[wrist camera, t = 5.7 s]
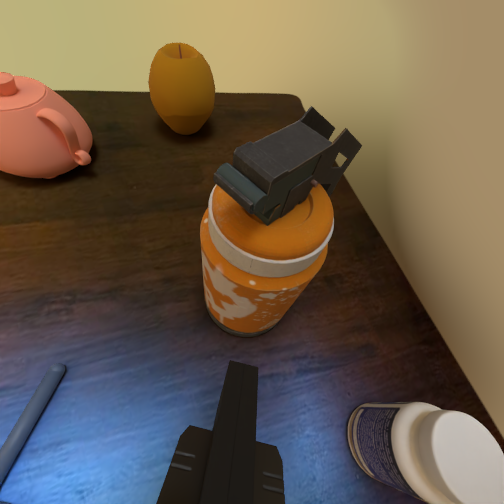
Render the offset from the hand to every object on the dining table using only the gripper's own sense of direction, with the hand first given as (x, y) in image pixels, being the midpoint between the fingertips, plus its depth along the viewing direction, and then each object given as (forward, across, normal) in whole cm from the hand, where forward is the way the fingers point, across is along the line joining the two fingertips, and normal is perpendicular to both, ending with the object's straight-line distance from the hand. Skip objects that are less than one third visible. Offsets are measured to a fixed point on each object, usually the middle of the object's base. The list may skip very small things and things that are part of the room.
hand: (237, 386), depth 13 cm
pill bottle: (+8, +14, -9) cm, 19 cm away
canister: (+16, 0, -1) cm, 16 cm away
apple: (+34, -17, +17) cm, 42 cm away
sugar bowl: (+25, -31, +7) cm, 40 cm away
